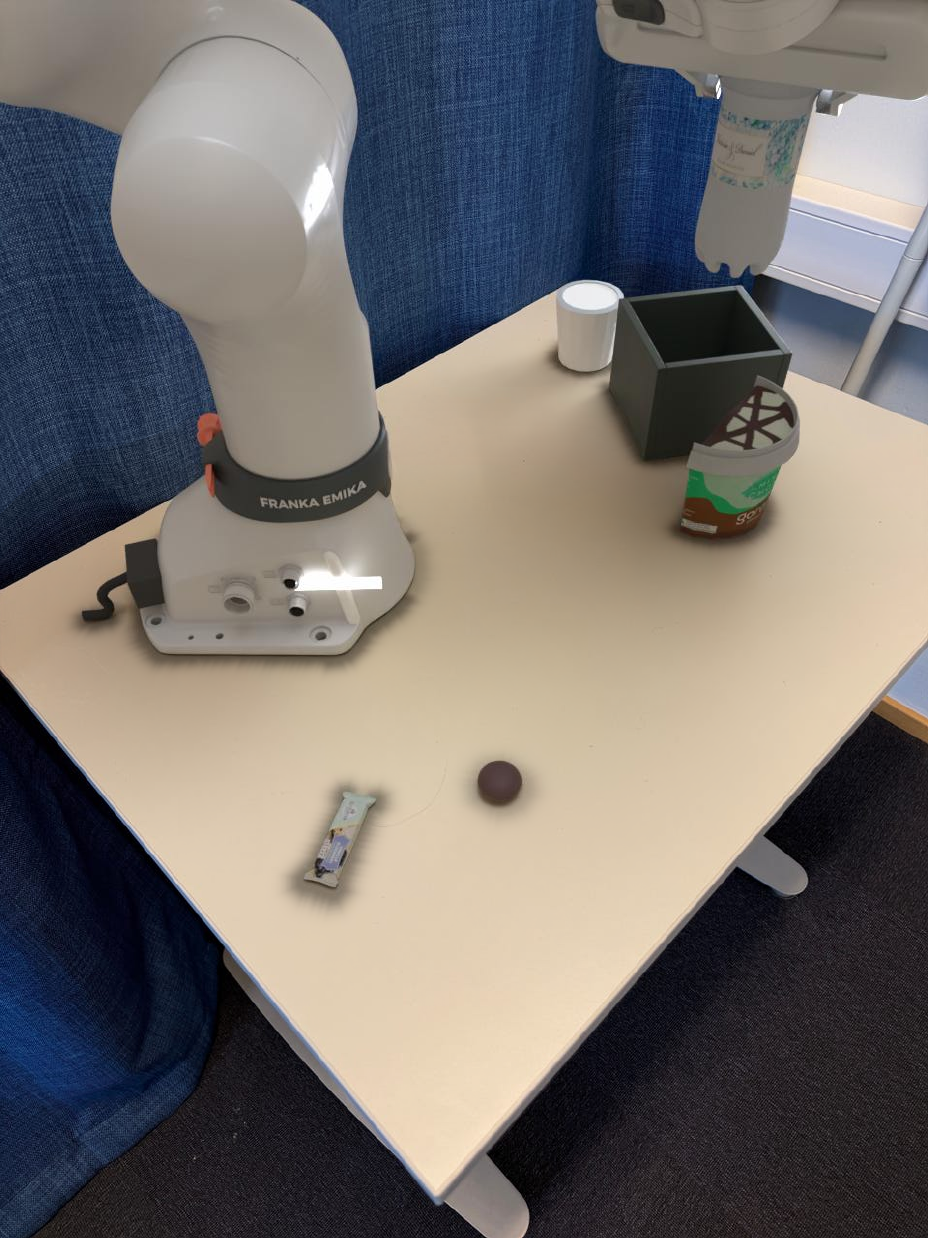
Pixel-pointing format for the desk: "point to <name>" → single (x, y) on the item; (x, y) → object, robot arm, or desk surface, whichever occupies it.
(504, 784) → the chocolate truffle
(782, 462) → the food container
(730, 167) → the bottle
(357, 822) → the granola bar
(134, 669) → the desk surface
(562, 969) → the desk surface
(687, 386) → the bin
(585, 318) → the white cylinder
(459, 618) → the desk surface
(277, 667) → the desk surface
